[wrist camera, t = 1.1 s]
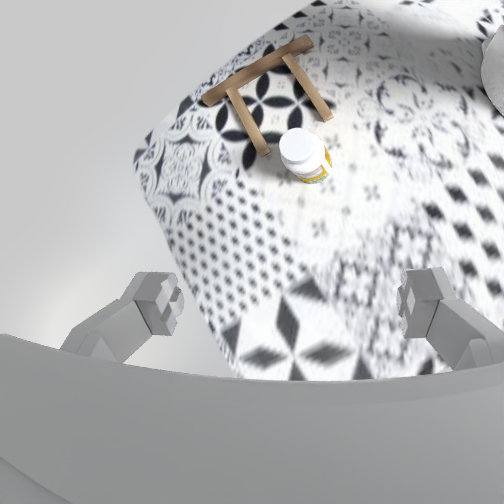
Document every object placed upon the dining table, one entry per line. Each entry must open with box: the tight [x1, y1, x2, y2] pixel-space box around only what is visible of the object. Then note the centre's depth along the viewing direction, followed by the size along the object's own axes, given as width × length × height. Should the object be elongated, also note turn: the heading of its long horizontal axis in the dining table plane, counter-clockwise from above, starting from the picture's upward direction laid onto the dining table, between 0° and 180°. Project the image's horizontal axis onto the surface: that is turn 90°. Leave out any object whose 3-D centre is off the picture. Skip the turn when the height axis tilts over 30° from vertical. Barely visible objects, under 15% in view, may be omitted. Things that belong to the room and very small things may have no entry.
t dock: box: [201, 35, 334, 156], centre depth 42 cm, size 20×14×2 cm
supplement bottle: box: [279, 128, 332, 184], centre depth 37 cm, size 5×5×10 cm
